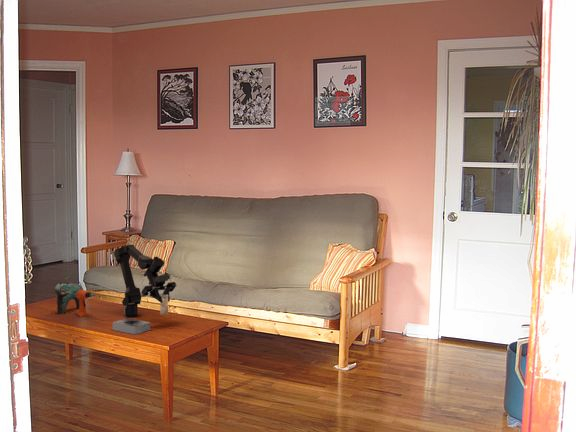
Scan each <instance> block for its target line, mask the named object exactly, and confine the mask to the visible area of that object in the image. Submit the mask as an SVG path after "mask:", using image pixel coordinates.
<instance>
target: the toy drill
mask: <svg viewBox="0 0 576 432" xmlns="http://www.w3.org/2000/svg"><path fill="white" fill-rule="evenodd" d="M76 296H77V299H78V300H79V309H78V310H77V314H76V315H77V316H78V317H83V318H85V317H88V316H90V315H89V312H88V311H86V310H87V309H86V308H87V307H86V306H87V304H86V299H88V298H91V297H95V296H96V294H94V293H91V292H90V291H87V290H84V289H83V290H82V289H80V290H79V291H78V292H77V294H76Z"/></svg>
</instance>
